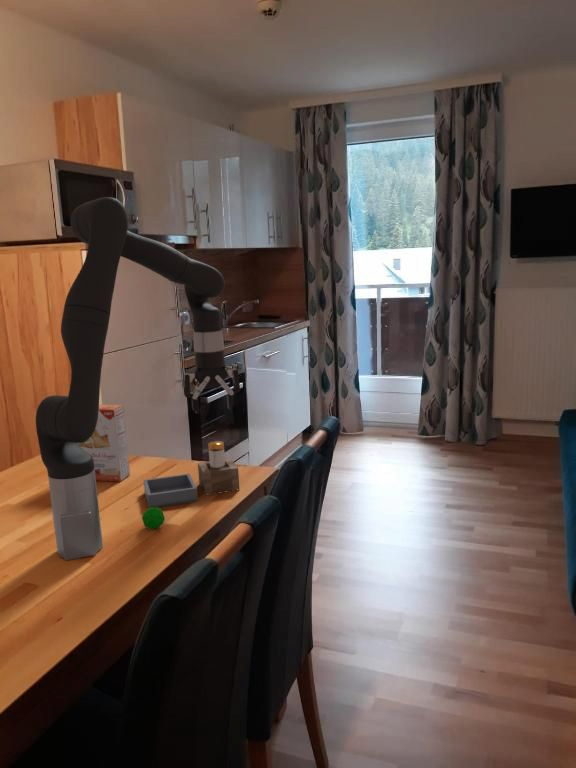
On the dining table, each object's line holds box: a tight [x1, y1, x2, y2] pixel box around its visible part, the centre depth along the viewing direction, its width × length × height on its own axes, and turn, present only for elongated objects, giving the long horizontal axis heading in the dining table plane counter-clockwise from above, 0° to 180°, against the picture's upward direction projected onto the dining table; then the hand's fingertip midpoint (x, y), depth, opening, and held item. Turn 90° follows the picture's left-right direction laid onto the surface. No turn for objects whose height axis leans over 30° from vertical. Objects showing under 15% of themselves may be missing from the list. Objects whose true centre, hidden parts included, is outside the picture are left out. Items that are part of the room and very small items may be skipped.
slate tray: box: [143, 473, 199, 509], centre depth 164 cm, size 12×12×4 cm
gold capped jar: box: [207, 440, 226, 470], centre depth 169 cm, size 4×4×12 cm
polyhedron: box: [141, 507, 165, 531], centre depth 145 cm, size 5×5×5 cm
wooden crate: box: [197, 457, 240, 496], centre depth 169 cm, size 9×9×6 cm
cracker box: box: [78, 404, 131, 483], centre depth 179 cm, size 14×6×21 cm, turn 76°
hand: (213, 410), depth 166 cm, fingers open, 8 cm apart
